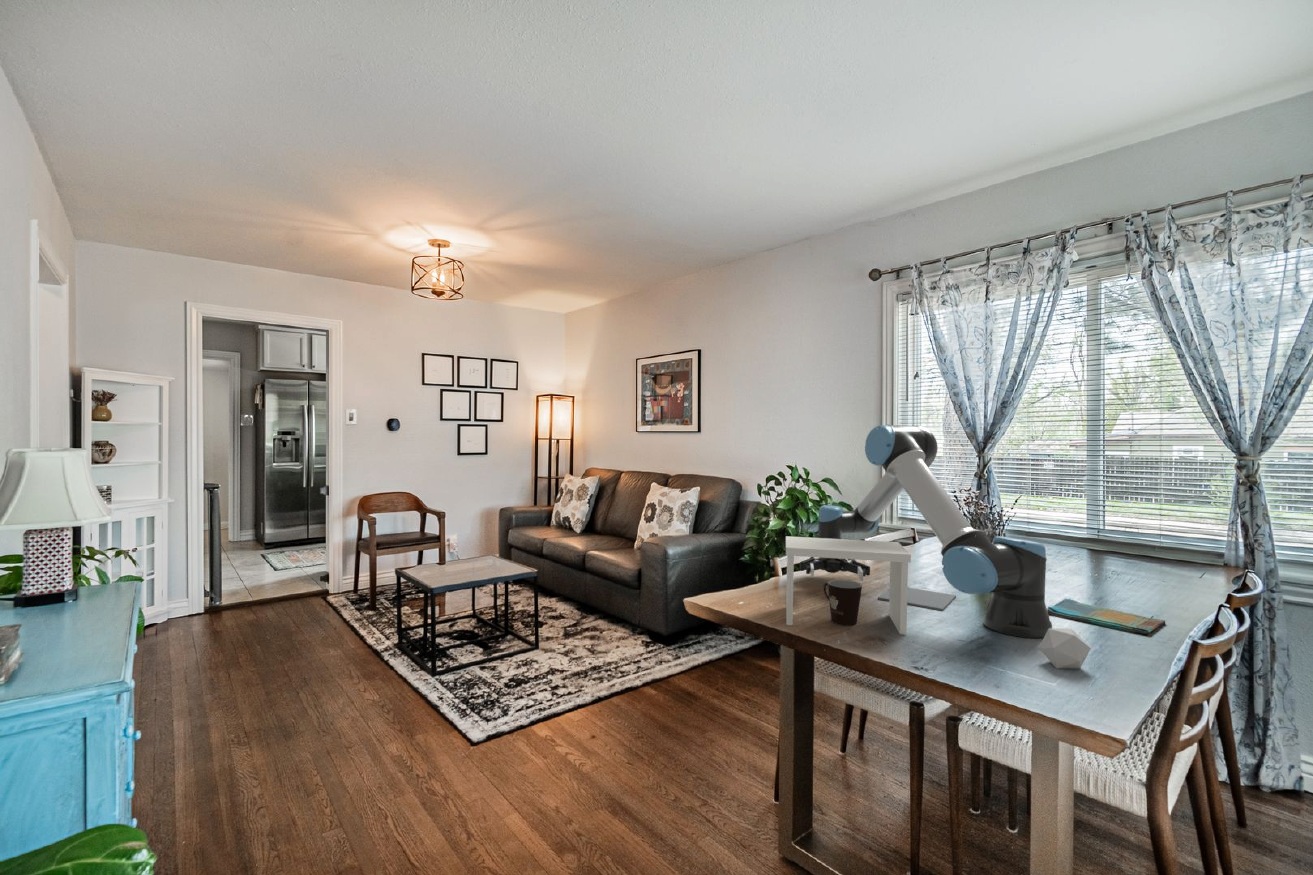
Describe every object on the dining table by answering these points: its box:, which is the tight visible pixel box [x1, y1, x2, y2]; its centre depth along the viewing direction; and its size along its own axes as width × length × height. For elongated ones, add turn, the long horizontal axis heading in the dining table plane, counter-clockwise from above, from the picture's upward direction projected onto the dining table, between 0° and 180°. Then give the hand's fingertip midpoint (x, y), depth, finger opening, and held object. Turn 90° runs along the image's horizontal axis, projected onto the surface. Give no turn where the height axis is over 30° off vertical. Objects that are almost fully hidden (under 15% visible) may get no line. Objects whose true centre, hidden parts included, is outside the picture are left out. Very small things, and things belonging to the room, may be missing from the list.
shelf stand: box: [785, 535, 912, 636], centre depth 161 cm, size 17×30×20 cm, turn 78°
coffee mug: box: [823, 579, 863, 627], centre depth 161 cm, size 12×9×10 cm
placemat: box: [877, 587, 957, 612], centre depth 183 cm, size 18×18×1 cm
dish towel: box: [1046, 597, 1167, 637], centre depth 166 cm, size 17×23×2 cm
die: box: [1038, 627, 1092, 670], centre depth 131 cm, size 8×9×10 cm
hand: (836, 574), depth 175 cm, fingers open, 13 cm apart
